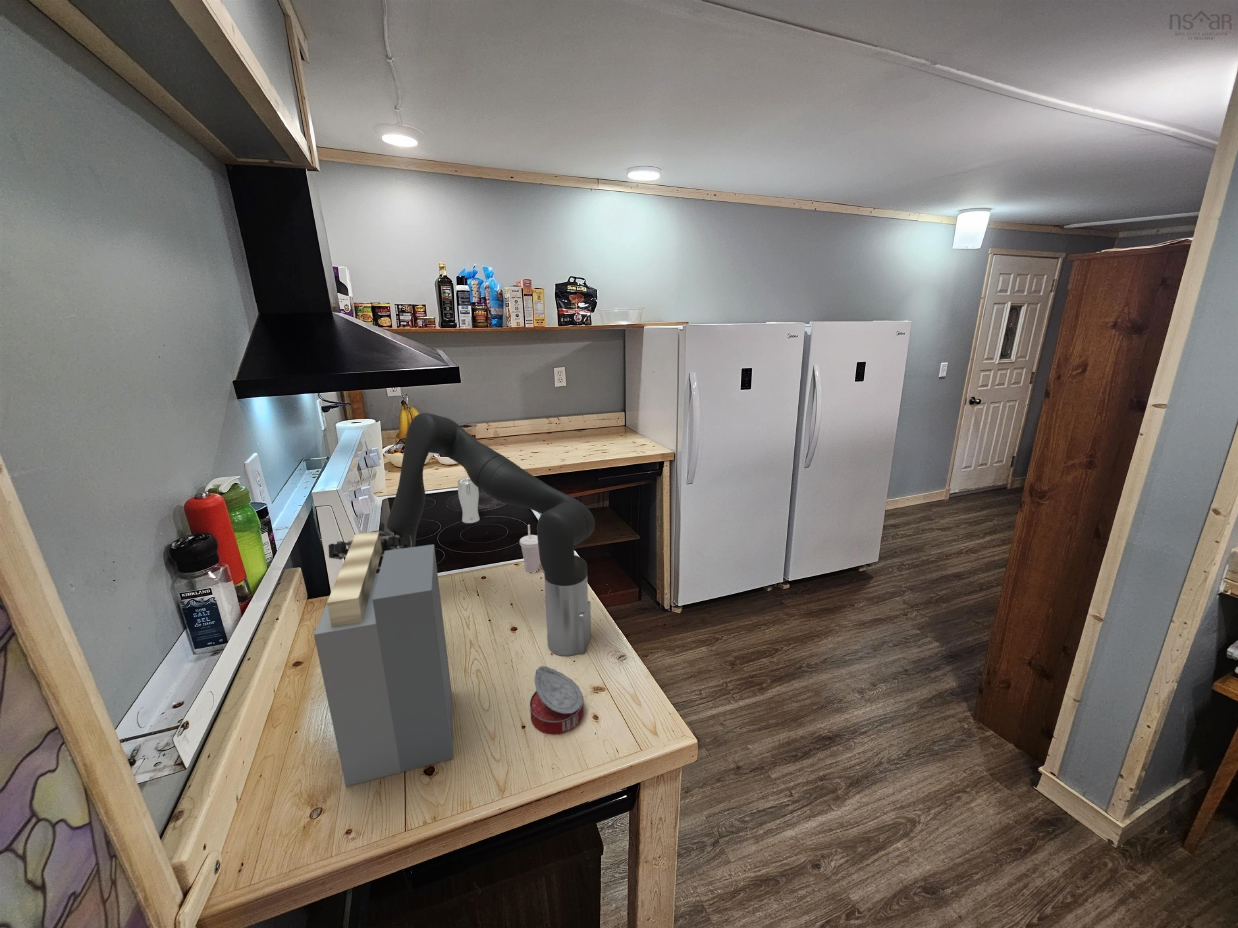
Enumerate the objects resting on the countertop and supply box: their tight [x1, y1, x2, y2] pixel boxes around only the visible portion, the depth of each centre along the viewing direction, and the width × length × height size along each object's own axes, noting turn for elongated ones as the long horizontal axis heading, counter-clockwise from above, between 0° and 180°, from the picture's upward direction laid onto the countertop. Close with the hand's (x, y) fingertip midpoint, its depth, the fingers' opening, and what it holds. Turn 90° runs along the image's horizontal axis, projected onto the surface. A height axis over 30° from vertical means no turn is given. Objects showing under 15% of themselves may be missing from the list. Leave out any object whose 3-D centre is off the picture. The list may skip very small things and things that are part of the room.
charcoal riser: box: [313, 544, 454, 788], centre depth 82 cm, size 16×16×32 cm
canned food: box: [529, 665, 584, 736], centre depth 91 cm, size 11×10×10 cm
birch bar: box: [326, 530, 382, 627], centre depth 82 cm, size 24×4×4 cm, turn 19°
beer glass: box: [457, 477, 480, 524], centre depth 176 cm, size 7×7×15 cm
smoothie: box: [519, 524, 541, 573], centre depth 141 cm, size 6×6×14 cm
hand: (365, 543), depth 90 cm, fingers open, 8 cm apart
